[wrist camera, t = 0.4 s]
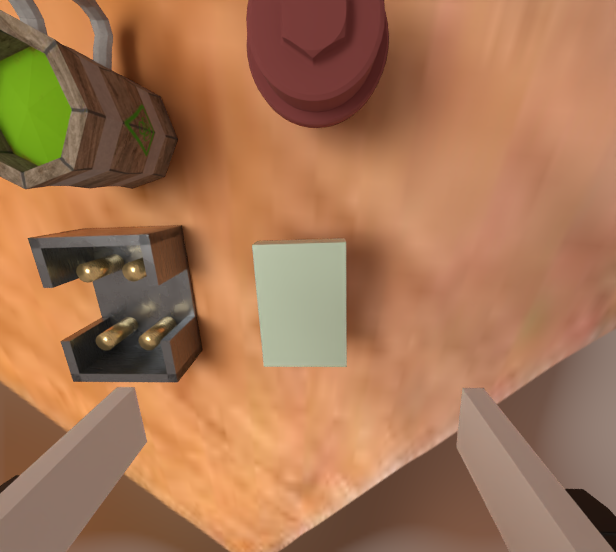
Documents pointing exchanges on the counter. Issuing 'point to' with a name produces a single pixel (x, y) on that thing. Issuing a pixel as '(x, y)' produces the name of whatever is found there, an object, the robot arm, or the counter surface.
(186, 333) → the frame
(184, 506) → the counter surface
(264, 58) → the mechanical component
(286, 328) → the board
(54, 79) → the mug
